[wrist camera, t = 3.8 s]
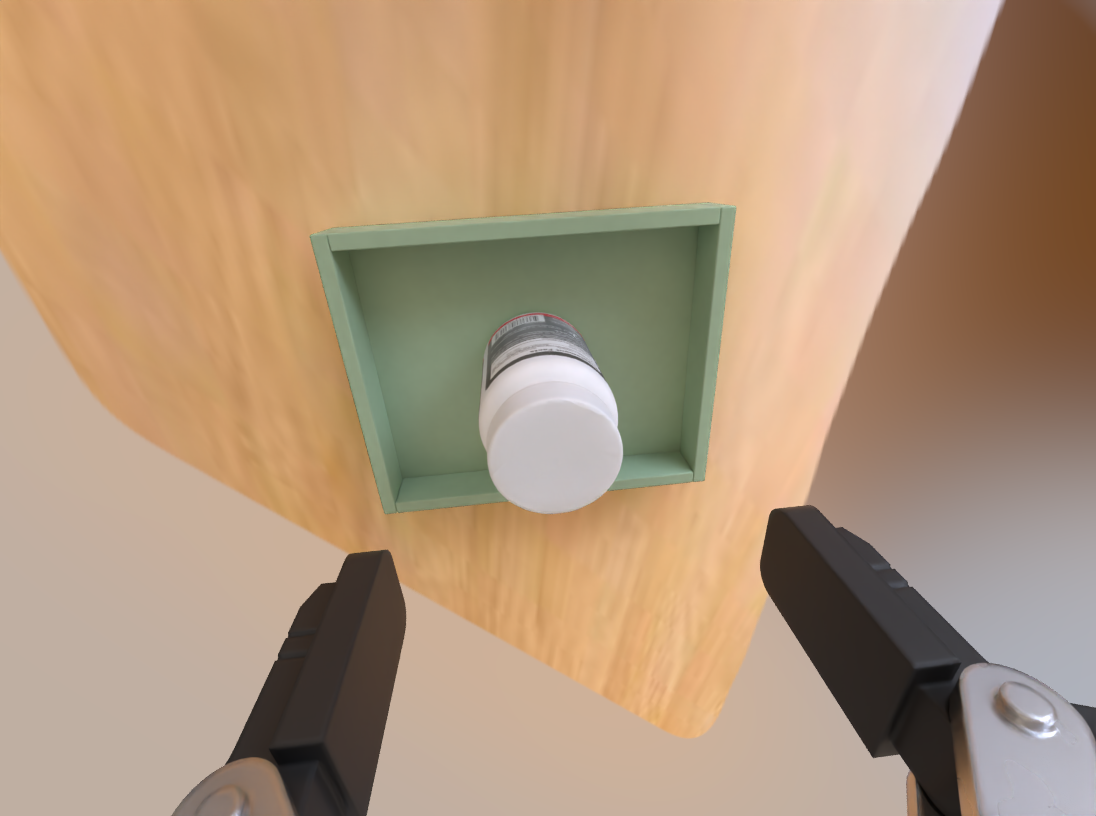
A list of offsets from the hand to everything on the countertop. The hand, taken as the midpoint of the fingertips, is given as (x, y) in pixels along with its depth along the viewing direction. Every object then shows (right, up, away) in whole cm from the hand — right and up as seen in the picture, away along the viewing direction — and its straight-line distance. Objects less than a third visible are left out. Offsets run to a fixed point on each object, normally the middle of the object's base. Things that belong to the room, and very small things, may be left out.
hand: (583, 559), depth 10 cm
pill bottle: (-1, +5, +11) cm, 13 cm away
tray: (-1, +6, +12) cm, 13 cm away
